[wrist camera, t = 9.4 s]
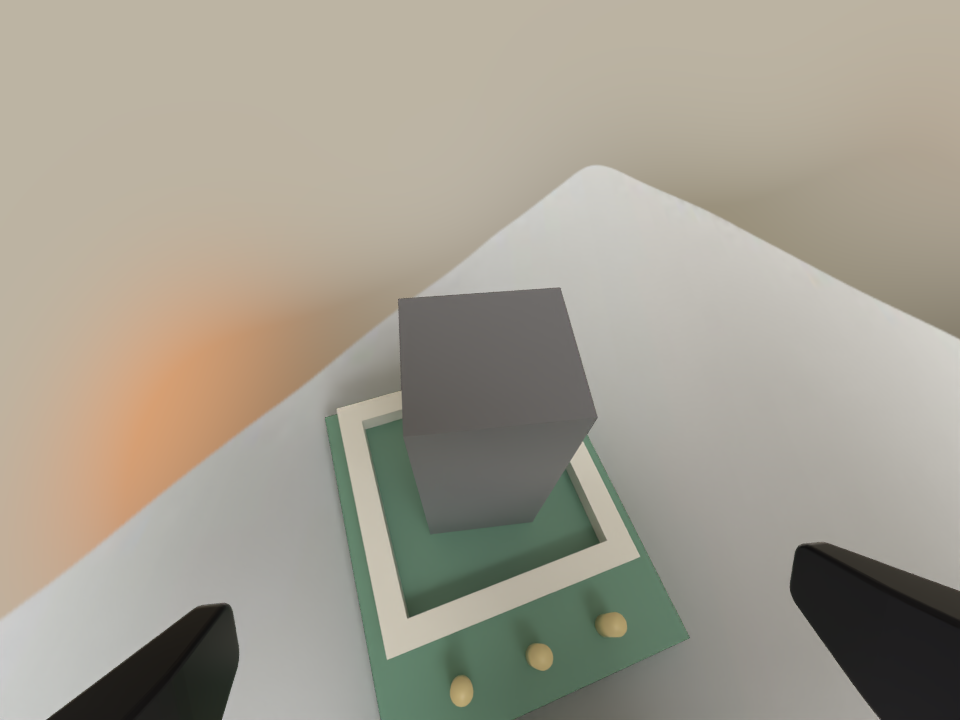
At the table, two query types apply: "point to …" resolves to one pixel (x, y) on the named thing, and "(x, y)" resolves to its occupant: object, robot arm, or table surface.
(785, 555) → the table surface
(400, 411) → the green flat piece
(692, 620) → the table surface
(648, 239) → the table surface
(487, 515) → the block
